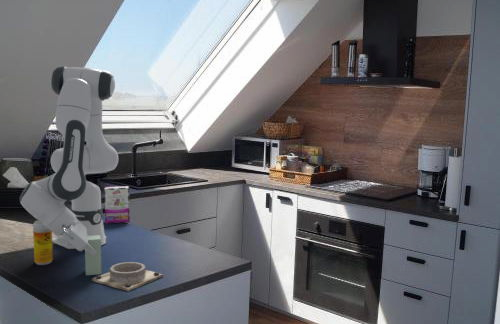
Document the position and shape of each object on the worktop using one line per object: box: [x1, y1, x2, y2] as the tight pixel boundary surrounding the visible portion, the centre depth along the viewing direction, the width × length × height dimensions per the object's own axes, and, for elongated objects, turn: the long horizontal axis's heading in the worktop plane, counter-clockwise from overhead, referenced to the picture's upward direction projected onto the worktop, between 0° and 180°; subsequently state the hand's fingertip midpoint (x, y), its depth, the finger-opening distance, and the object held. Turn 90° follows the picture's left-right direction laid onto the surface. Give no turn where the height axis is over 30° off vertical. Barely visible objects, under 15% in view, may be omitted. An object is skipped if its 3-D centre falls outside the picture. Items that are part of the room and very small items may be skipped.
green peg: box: [84, 235, 103, 276], centre depth 182 cm, size 5×5×12 cm
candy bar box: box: [103, 185, 131, 224], centre depth 250 cm, size 11×5×16 cm, turn 104°
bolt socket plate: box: [91, 261, 164, 292], centre depth 177 cm, size 16×16×4 cm
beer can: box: [32, 219, 54, 266], centre depth 191 cm, size 6×6×15 cm
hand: (94, 249), depth 182 cm, fingers open, 8 cm apart
